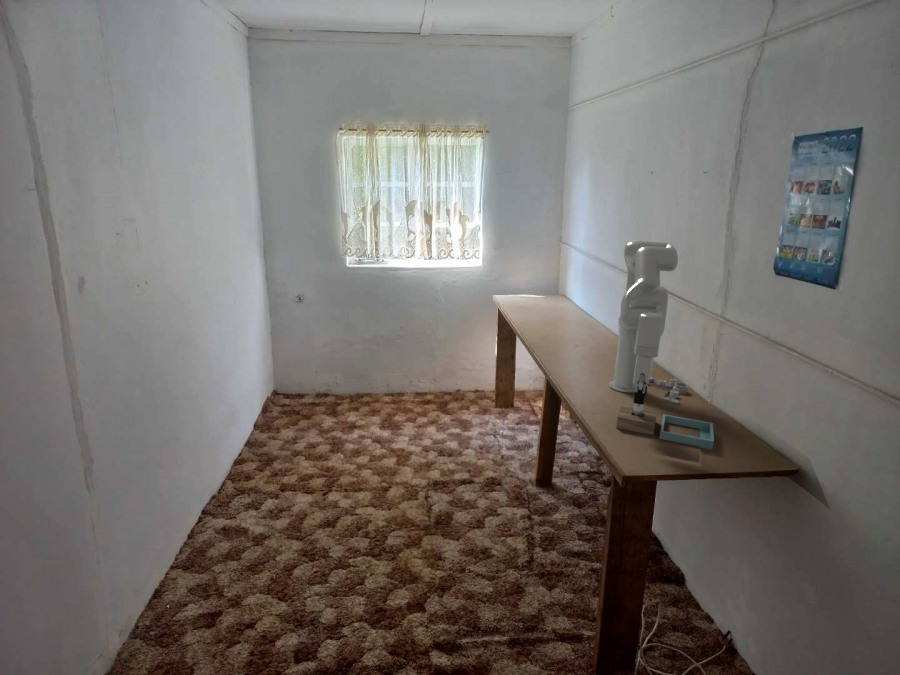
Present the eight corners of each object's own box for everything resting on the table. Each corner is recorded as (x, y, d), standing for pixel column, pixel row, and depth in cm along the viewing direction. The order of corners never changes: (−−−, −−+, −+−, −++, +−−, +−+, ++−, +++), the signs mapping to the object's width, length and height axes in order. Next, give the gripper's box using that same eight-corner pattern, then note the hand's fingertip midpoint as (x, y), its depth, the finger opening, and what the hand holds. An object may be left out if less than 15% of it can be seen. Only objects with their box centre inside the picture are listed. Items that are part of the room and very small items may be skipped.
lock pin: (631, 422, 202) (636, 392, 199) (641, 424, 201) (645, 394, 198) (630, 425, 199) (635, 395, 196) (640, 427, 198) (645, 397, 195)
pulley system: (671, 382, 251) (637, 380, 249) (673, 372, 249) (639, 370, 248) (702, 409, 225) (664, 406, 223) (705, 398, 223) (667, 395, 222)
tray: (661, 423, 204) (663, 414, 204) (711, 432, 199) (712, 422, 198) (659, 441, 190) (660, 431, 189) (712, 451, 184) (713, 441, 184)
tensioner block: (620, 418, 208) (621, 404, 206) (655, 424, 203) (657, 411, 202) (615, 430, 197) (617, 416, 196) (653, 437, 193) (655, 423, 191)
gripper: (637, 343, 202) (631, 389, 206) (632, 355, 186) (625, 405, 190) (659, 346, 199) (653, 393, 203) (656, 358, 184) (649, 409, 188)
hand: (640, 399), depth 197 cm, fingers open, 9 cm apart
